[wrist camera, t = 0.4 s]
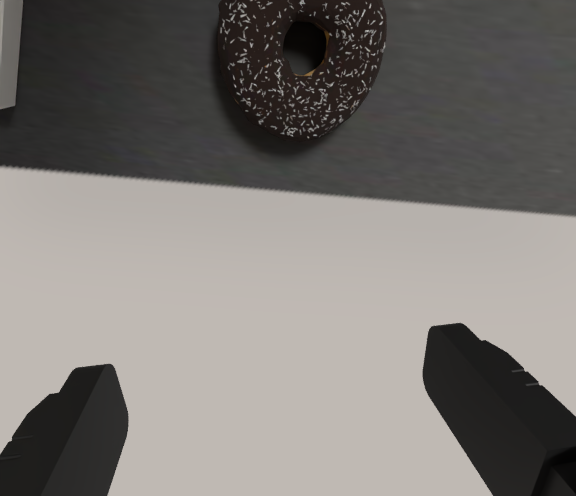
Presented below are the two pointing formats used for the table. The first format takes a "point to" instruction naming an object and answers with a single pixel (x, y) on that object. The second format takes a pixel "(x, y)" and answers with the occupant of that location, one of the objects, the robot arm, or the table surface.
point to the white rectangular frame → (9, 49)
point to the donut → (276, 69)
